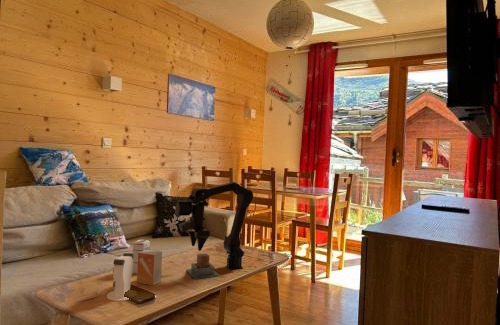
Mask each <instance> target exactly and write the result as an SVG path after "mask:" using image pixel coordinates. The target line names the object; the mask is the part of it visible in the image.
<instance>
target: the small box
mask: <svg viewBox="0 0 500 325" xmlns="http://www.w3.org/2000/svg"><path fill="white" fill-rule="evenodd" d="M162 258H163V251H162V250H161V251H158V250H155V249H154V250H152V249H150V250H144V251H141V252H139V253H138V270H137V275H136V276H137V277H136V283H137V284H144V285H149V286H155V285H156V284H159V283H160V282H162V262H163V260H162Z"/></svg>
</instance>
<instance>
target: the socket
mask: <svg viewBox="0 0 500 325" xmlns="http://www.w3.org/2000/svg"><path fill="white" fill-rule="evenodd" d="M190 265H191V268H189V269H188V268H187V269H186V273H187V274H188V275H189V276H190V277H191V278H192V279H193V280H198V279H209V278H216V277H217V278H218V277H220V274H219V273H218V272H217V271H215V266H214V265H213V264H211V263H210V262H209V267H201V268H198V267H197V262H196V263H195V262H194V263H191V264H190Z"/></svg>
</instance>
